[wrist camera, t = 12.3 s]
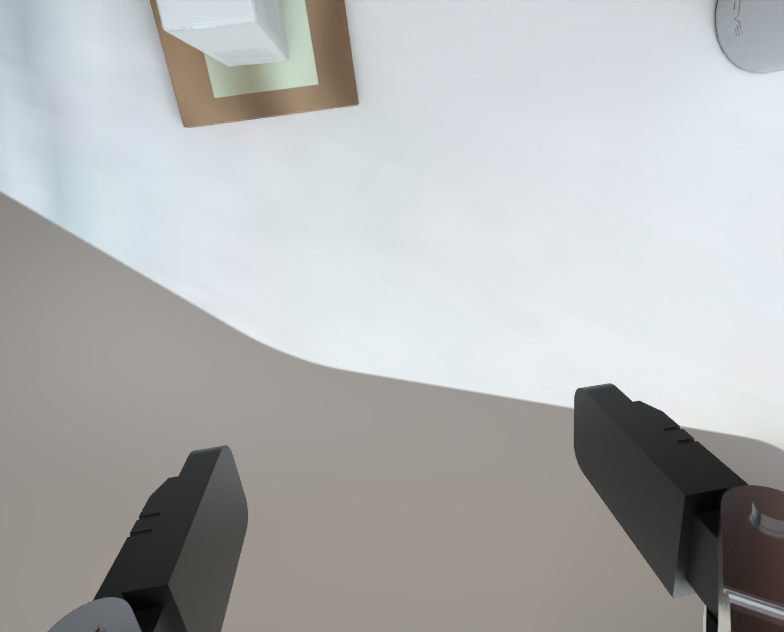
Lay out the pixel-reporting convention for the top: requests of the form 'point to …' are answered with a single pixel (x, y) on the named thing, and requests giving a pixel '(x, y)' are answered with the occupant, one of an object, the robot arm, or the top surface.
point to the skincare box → (228, 29)
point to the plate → (268, 71)
